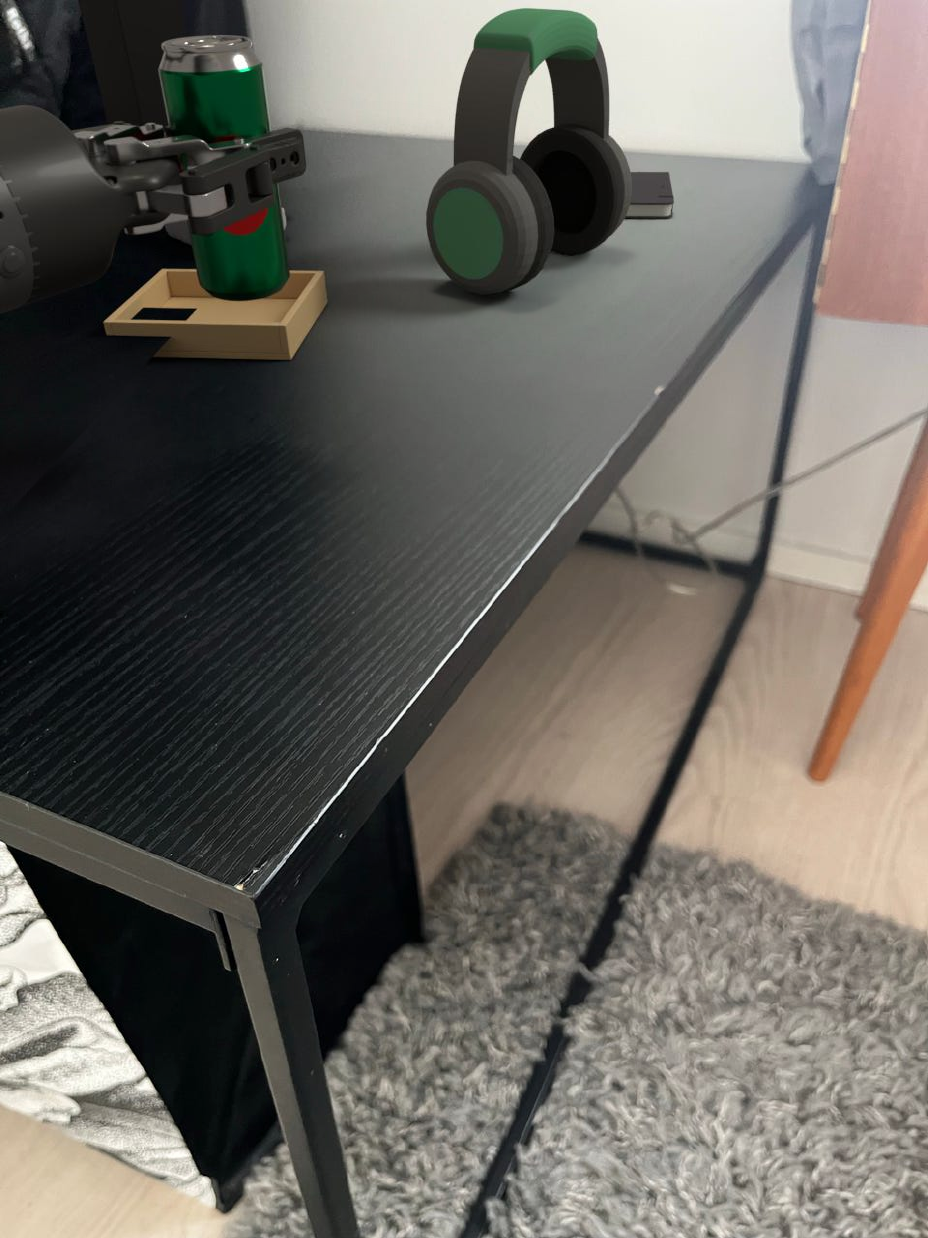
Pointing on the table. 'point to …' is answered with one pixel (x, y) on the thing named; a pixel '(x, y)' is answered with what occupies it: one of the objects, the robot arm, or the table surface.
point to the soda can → (215, 112)
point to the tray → (224, 317)
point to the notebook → (651, 195)
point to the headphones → (528, 156)
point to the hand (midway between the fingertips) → (260, 143)
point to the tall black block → (131, 54)
